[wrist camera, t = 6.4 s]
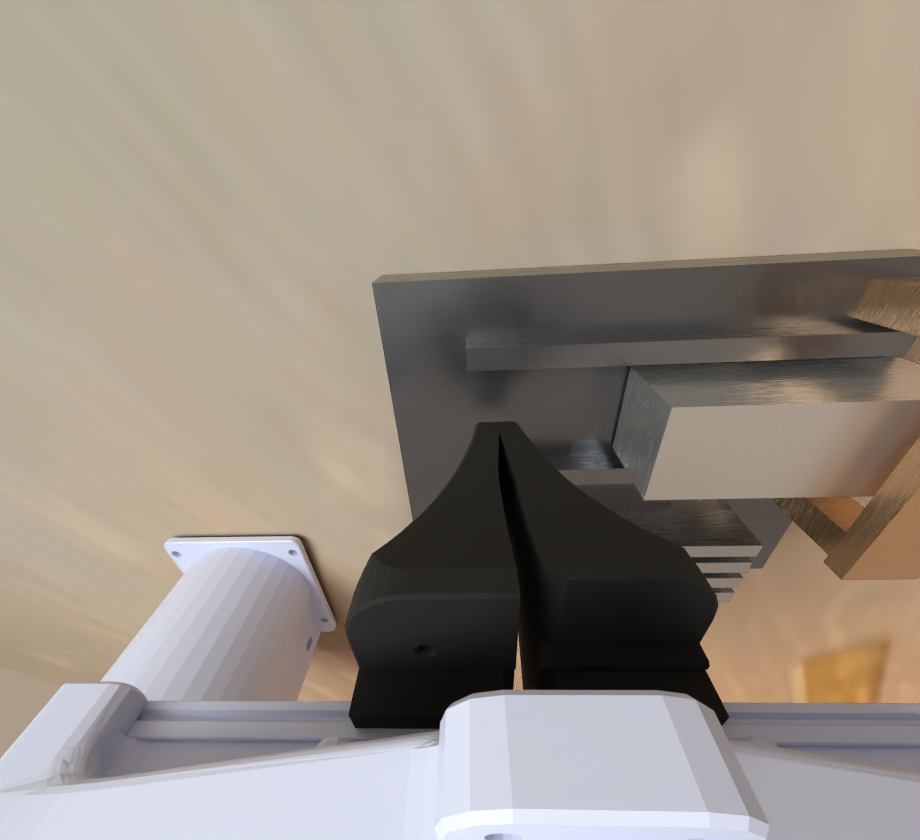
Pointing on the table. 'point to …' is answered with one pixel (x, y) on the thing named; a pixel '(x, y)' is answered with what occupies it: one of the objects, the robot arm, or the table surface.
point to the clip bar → (768, 427)
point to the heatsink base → (648, 344)
